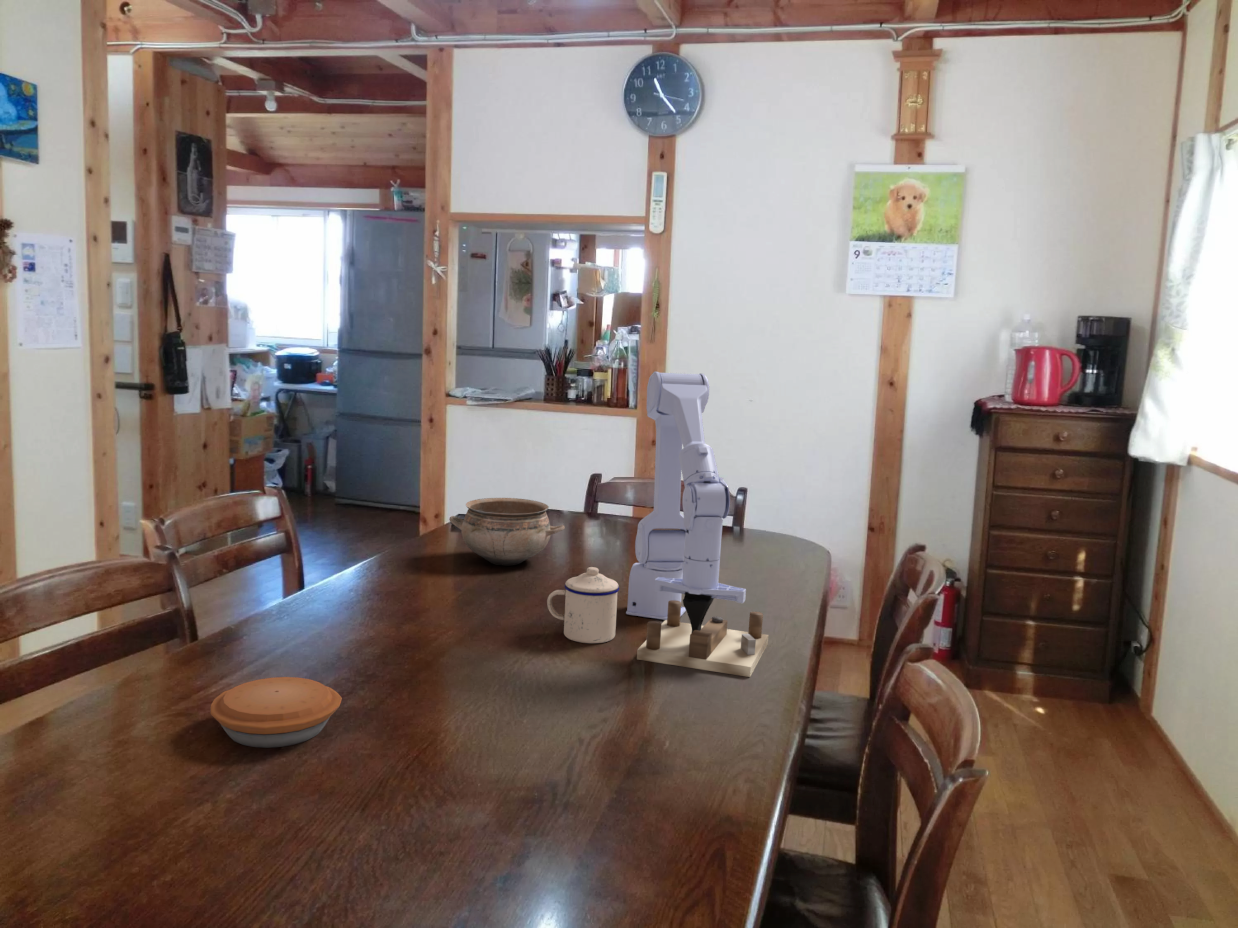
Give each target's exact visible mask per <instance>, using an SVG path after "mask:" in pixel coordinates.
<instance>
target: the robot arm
mask: <svg viewBox="0 0 1238 928" xmlns="http://www.w3.org/2000/svg"><path fill="white" fill-rule="evenodd" d="M709 398H710V383H709V379H708V377H707V375H706V374H705V373H683V372H682V373H681V372H680V373H679V372H678V373H677V372H676V373H675V372H659V371H653V373H652V374H651V375H650V376H649V378H648V383H647V386H646V415H647V417H648V418H649V419H652V420H653V421H654V422H655V431H656V432H655V434H656V435H655V456H654V457H655V460H654V461H655V462H654V463H655V465H654V490H653V491H654V492H653V511H651V512H650V513H648V514H647V515H646V516H644V517H643V518H642V519H641V520H640V521H639V522H638V524H637V530H636V532H637V533H636V535H635V543H634V549H635V556H636V560H637V562H635V563H633V564H632V566H631V568H630V571H629V577H628V592H627V610H626V611H625V614H626V615H629V616H638V617H643V618H651V619H656V620H663V621H665V620H667V615H668V601H671V600H676V601H680V602H681V603H682V604H683V606H681V615H680V618H681V617H682V616H683V615H684V613H685V612H686V613H687V616H688V619H689V622H690V623H689V624H691V627H692V632H693V631H694V630H698V631H700V630H701V625H703V622H704V619H705V617H706V615H707V613H708V611H709V608H710V607H711V605H712V604H713V602H714V600H715V599H717V600H725V601H731V602H736V603H737V604H744V603H745V601H746V597H747V596H746V595H747V593H746V592H747V589H746V588H743V587H739V586H738V587H737V586H733V585H730V584H725V583H721V582H719V577H720V566H721V565H720V564H721V563H720V562H721V549H722V534H723V523H724V519H726V518H727V517H728V515H729V513H730V505H731V494H730V489H729V486H728V484H727V482H726V481H725V480H724V477H720V476H719V475H720V474H719V471H718V466H717V465H718V464H717V461H716V456H715V451H714V449H713V448H712V446H711V445H709V444H707V443H706V441H705V433H704V422H703V413H704V412H705V409H706V406H707V403H708V402H709ZM682 480H683V486H684V488H683V493H682V511H683V514H682V513H681V492H682V491H681V489H682ZM682 594H683V595H684V596H683V599H682Z"/></svg>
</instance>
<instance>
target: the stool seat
mask: <svg viewBox="0 0 1238 928" xmlns="http://www.w3.org/2000/svg"><path fill="white" fill-rule="evenodd" d="M681 607H682V601H681V602H680V601H676V600H671V601H668V615H667V620H663V622H661V621H656V620H655V621H654V620H651V621H648V622H647V623H646V625H647V629H646V640H645V641H644V642H643V643H642V644H641V645H640V646H639V647H638V648H637V650H636V651H637V653H636V660H640V661H645V662H650V663H651V662H652V663H658V664H664V665H672V666H679V667H684V668H691V669H694V670H695V669H696V670H701V671H710V672H716V673H722V674H727V675H728V674H729V675H735V676H741V677H746V678H751V676H752V674H753V673H754V671H755V669H756V667H757V665H758V663H759V662H760V659H761V657H762V656H763V654H764V652H765V650H766V648H767V647H768V644H769V636H770V635H769V634H765V633H764V634H763V621H764V620H763V619H764V614H763V612H760V611H750V612H749V620H748V631H743V630H737V629H730V628H729V629H728V628H727V634H726V636H725V637H724V638H723V639H722V641H721V642H720V643H719V644H718V646H717V647H716V648H715V649H714V651H713V652H712V653H711V654H710V655H709V657H708V658H707V659H700V658H694V657H689V644H690V635H691V633H692V627H691V623H689V622H681V617H680V615H681ZM703 627H704V625H703V624H702V625H701V629H702V628H703Z"/></svg>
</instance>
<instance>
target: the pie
mask: <svg viewBox="0 0 1238 928" xmlns="http://www.w3.org/2000/svg"><path fill="white" fill-rule="evenodd" d="M342 700H343V698H342V696H341V695H340V693H338V692H337V690H335V689H333V688H332V687H330V686H326V685H325V684H323V683H322V682H319V681H316V680H313V679H310V678H303V677H296V676H295V677H291V676H277V677H267V678H261V679H255V680H251V681H247V682H244V683H241V684H239V685H236V686H234V687H231V689H227V690H224V691H222V692H221V693H220V694H219V695H217V696H216V697H215V698H214V699H213V701H212V703H211V704H210V715H211V716H212V717H213V718H214V720H215V721H217V722H218V723H219V725H220V726H221V728H223V730H224V731H225V733H226V734H227V736H228V737H229V738H231V740H233V742H235V743H238V744H241V745H243V746H247V747H253V748H263V749H264V748H267V749H269V748H282V747H288V746H295V745H298V744H302V743H304V742H306V741H308V740H311V739H312V738H314V737H316V736H317V735H318V734H320V733H321V732H322V730H323V729H324V728H325V726H326V725H327V724H328V722H329V720H330V718H331V716H333V714H334V713H335V712H336V711H337V710H338V709H339V708H340V705H341V703H342Z"/></svg>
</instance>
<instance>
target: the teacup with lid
mask: <svg viewBox="0 0 1238 928" xmlns="http://www.w3.org/2000/svg"><path fill="white" fill-rule="evenodd" d="M599 571H600V569H599V568H598V567H595V566H594V567H593V566H590V567H587V568H586V572H584V573H581V574H579V575H578V576H573V577H571V578H568V579H567V580H566V581H565V584H564V588H565V589H556V590H554V591H552V592H551V593H549V595H548V596H547V600H546V604H547V609H548V611H549V613H550V614H551V615H552V617H554V618H556V619H558V620H561V621H564V622H563V625H564V626H563V635H564V636H565V637H566V638H567V639H568V640H571V641H573V642H577V643H583V644H603V643H606V642H610V641H612V640H613V639H614V638H615V637H616V627H617V608H618V592H619V590H620V586H619V583H618V582H617V581H616V580H614V579H613V578H609V577H607V576H605V575H604V574H602V573H599ZM557 595H558V596H565V597H564V600H565V601H564V603H565V604H564V614H561V613H558V612H557V611H556V609H555V608H554V605H553V598H554V597H555V596H557Z"/></svg>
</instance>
